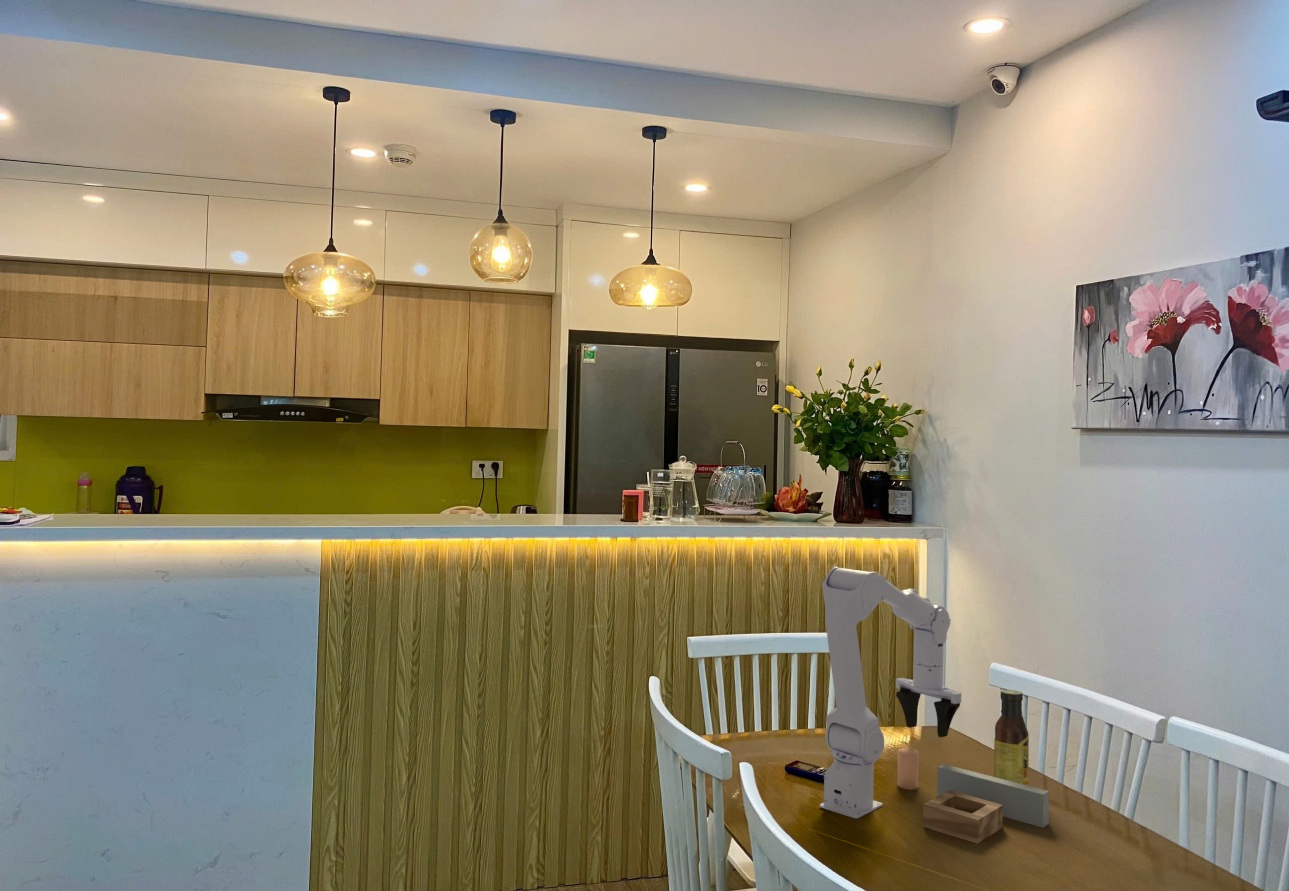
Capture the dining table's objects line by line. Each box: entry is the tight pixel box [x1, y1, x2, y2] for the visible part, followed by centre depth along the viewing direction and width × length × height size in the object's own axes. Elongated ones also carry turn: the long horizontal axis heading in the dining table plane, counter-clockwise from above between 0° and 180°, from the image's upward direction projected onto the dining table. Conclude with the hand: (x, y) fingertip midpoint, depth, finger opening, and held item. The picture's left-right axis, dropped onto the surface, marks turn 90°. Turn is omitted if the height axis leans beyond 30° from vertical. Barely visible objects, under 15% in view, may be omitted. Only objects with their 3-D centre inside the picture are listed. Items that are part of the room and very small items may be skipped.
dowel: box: [896, 747, 920, 791], centre depth 187 cm, size 4×4×7 cm
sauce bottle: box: [993, 689, 1030, 786], centre depth 184 cm, size 7×6×20 cm
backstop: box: [936, 763, 1050, 829], centre depth 175 cm, size 2×20×6 cm, turn 46°
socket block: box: [922, 790, 1004, 845], centre depth 167 cm, size 10×10×4 cm
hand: (926, 731), depth 191 cm, fingers open, 7 cm apart
